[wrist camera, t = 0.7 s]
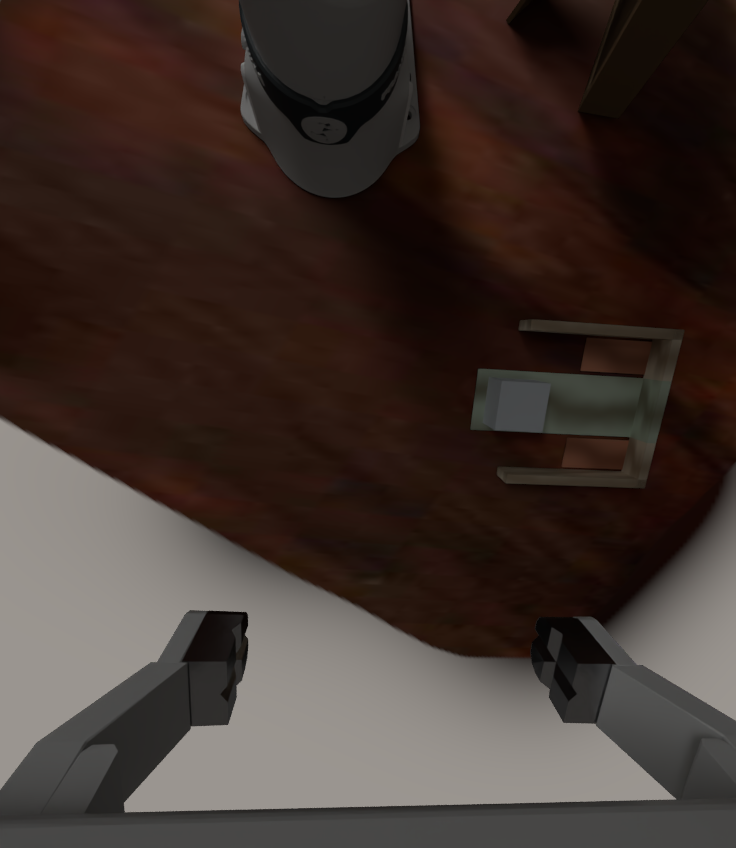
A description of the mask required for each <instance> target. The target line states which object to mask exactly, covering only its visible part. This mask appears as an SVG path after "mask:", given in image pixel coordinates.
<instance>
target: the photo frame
mask: <svg viewBox="0 0 736 848" xmlns="http://www.w3.org/2000/svg"><path fill="white" fill-rule="evenodd" d="M531 1H532V0H520V2H519V3H518V4H517V6H516V7H515V9H514V10H513V11H512V13H511V14H510V16H509V17H508V18H507V20H506V21H507V23H508V24H509V23H510V22H511V21H512V20H513V19H514V18H515V17H516V16H517V15H518V14H519V13H520V12H521V11H522V10H523V9H524V8H525V7H526V6H527V5H528V4H529V3H530V2H531ZM707 1H708V0H615V3H614V6H613V9H612V12H611V14H610V17H609V20H608V23H607V26H606V29H605V32H604V35H603V38H602V41H601V44H600V47H599V50H598V53H597V56H596V59H595V62H594V65H593V68H592V71H591V74H590V77H589V80H588V83H587V86H586V89H585V92H584V95H583V98H582V101H581V104H580V107H579V110H578V112H584V113H589V114H595V115H601V116H607V117H612V118H618V119H619V117H620V116H621V115H622V113H623V112H624V111H625V109H626V108H627V107H628V105H629V104H630V103H631V102H632V100H633V99H634V98H635V96H636V95H637V94H638V92H639V91H640V90H641V88H642V87H643V86H644V84H645V83H646V82H647V80H648V79H649V78H650V76H651V75H652V74H653V73H654V71H655V70H656V69H657V67H658V66H659V65H660V63H661V62H662V61H663V59H664V58H665V57H666V55H667V54H668V53H669V51H670V50H671V49H672V48H673V46H674V45H675V44H676V42H677V41H678V40H679V38H680V37H681V36H682V34H683V33H684V32H685V30H686V29H687V28H688V26H689V25H690V24H691V22H692V21H693V20H694V19H695V17H696V16H697V15H698V13H699V12H700V11H701V9H702V8H703V7H704V5H705V4H706V3H707Z"/></svg>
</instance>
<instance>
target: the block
mask: <svg viewBox="0 0 736 848" xmlns="http://www.w3.org/2000/svg"><path fill="white" fill-rule="evenodd" d="M550 387H551V383H546V382H542V381H537V380H529V379H511V378H494V377H489V380H488V387H487V394H486V402H485V409H484V416H483V423H484V424H485V425H487V426H489V427H490V428H492V429H493V430H498V431H519V432H541V433H542V432H543V426H544V421H545V415H546V409H547V404H548V398H549V393H550Z"/></svg>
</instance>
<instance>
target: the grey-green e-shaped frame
mask: <svg viewBox="0 0 736 848" xmlns="http://www.w3.org/2000/svg"><path fill="white" fill-rule="evenodd" d="M519 330H520V331H534V332H549V333H564V334H579V335H594V336H609V337H623V338H638V339H652V342H647V341H632V340H617V339H602V338H586V343H585V348H584V353H583V358H582V364H581V369H580V371H593V372H609V373H626V374H643V375H644V377H643V378H629V377H612V376H595V375H578V374H561V373H544V372H527V371H510V370H493V369H478V374H477V382H476V389H475V397H474V405H473V412H472V420H471V428H470V430H489V431H498V430H493V429H492V428H490V427H489V426H487V425H485V424H484V423H483V416H484V409H485V402H486V394H487V387H488V380H489V377H494V378H511V379H529V380H537V381H542V382H546V383H551V387H550V393H549V398H548V404H547V409H546V415H545V421H544V426H543V432H542V433H553V434H575V435H596V436H618V437H629V440H609V439H588V438H567V441H566V446H565V451H564V456H563V461H562V467H571V468H596V469H621V471H601V470H575V469H550V468H524V467H499V466H498V469H497V476H499V477H500V478H501V479H502V480H503V481H504V482H505V483H513V484H540V485H568V486H596V487H624V488H645V484H646V480H647V476H648V473H649V469H650V465H651V461H652V457H653V453H654V449H655V445H656V441H657V437H658V433H659V429H660V425H661V421H662V417H663V413H664V409H665V405H666V401H667V397H668V394H669V390H670V386H671V382H672V378H673V374H674V370H675V366H676V362H677V358H678V354H679V350H680V346H681V342H682V338H683V334H684V330H678V329H664V328H650V327H635V326H621V325H607V324H592V323H578V322H564V321H550V320H535V319H530V320H520V324H519ZM510 432H519V431H510ZM532 433H541V432H532Z"/></svg>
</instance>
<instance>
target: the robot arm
mask: <svg viewBox="0 0 736 848" xmlns="http://www.w3.org/2000/svg"><path fill="white" fill-rule="evenodd" d="M239 9H240V17H241V23H242V33H241V42H242V47H243V49H244V50H246V52H245V62H243V63H242V64H241V73H242V77H243V81H244V89H243V95H242V101H241V114H242V118H243V121H244V123H245V124H246V126H247V127H248V128H249V129H250V130H251V131H252V132H253V133H255V134H256V135H257V136H258V137H259V138H261V139H262V140H263V141H264V142H265V143H266V145H267V146H268V148H269V149H270V151H271V153H272V155H273V157H274V158H275V160H276V162H277V163H278V165H279V167H280V168H281V169H282V171H283V172H284V173H285V174H286V175H287V176H288V177H289V178H290V179H291V180H292V181H293V182H294V183H296V184H297V185H298V186H300V187H301V188H303V189H305V190H306V191H308V192H311V193H313V194H316V195H319V196H324V197H331V198H339V197H346V196H350V195H354V194H356V193H359V192H361V191H363V190H365V189H366V188H368V187H369V186H371V185H372V184H373V183H374V182H375V181H376V180H377V179H378V178H379V177H380V176H381V175H382V174H383V172H384V171H385V170H386V168H387V167H388V165H389V164H390V162H391V161H392V160H393V158H394V157H395V156H396V155H397V154H399V153H401V152H402V151H404V150H405V149H407V148H408V147H410V146H411V145H412V144H414V143H415V142H416V140H417V139H418V136H419V131H420V120H419V108H418V96H417V85H416V73H415V61H414V49H413V37H412V25H411V14H410V2H409V0H239ZM408 115H409V116H410V117H411V119H410V120H407V117H408ZM247 627H248V614H247V613H246V612H228V611H194V610H190V611H189V612H187V613H186V614H185V615H184V617H183V619H182V621H181V623H180V624H179V626H178V628H177V629H176V631H175V632H174V634H173V636H172V638H171V639H170V641H169V643H168V644H167V646H166V648H165V650H164V651H163V653H162V655H161V656H160V658H159V660H158V662H151V663H150V664H148V665H147V666H145V667H144V668H142V669H141V670H140V671H138V672H137V673H135V674H134V675H132V676H131V677H130V678H128V679H127V680H125V681H124V682H122V683H121V684H120V685H118V686H117V687H115V688H114V689H112V690H111V691H109V692H108V693H107V694H105V695H104V696H102V697H101V698H100V699H98V700H97V701H95V702H94V703H92V704H91V705H90V706H88V707H87V708H85V709H84V710H82V711H81V712H80V713H78V714H77V715H75V716H74V717H73V718H71V719H70V720H68V721H67V722H65V723H64V724H63V725H61V726H60V727H58V728H57V729H56V730H54V731H53V732H51V733H50V734H48V735H47V736H46V737H44V738H43V739H41V740H40V741H38V742H37V743H36V744H35V745H34V747H33V748H32V750H31V751H30V752H29V753H28V755H27V756H26V757H25V759H24V760H23V761H22V762H21V764H20V765H19V766H18V768H17V769H16V770H15V772H14V773H13V774H12V775H11V777H10V778H9V779H8V781H7V782H6V783H5V785H4V786H3V787H2V789H1V790H0V848H736V721H735V720H733V719H732V718H730V717H728V716H727V715H725V714H723V713H722V712H720V711H718V710H717V709H715V708H713V707H712V706H710V705H708V704H707V703H705V702H703V701H702V700H700V699H698V698H697V697H695V696H693V695H691V694H689V693H688V692H686V691H685V690H683V689H681V688H680V687H678V686H676V685H675V684H673V683H671V682H670V681H668V680H666V679H665V678H663V677H661V676H660V675H658V674H656V673H655V672H653V671H651V670H650V669H648V668H646V667H644V666H643V665H636V664H635V663H634V661H633V660H632V659H631V658H630V657H629V656H628V654H627V653H626V652H625V651H624V650H623V649H622V648H621V647H620V646H619V644H618V643H617V642H616V641H615V640H614V639H613V638H612V637H611V635H610V634H608V632H607V631H606V630H605V629H604V628H603V627H602V625H601V624H600V623H599V622H598V621H597V620H596V619H594V618H592V617H539V619H538V620H537V622H536V626H535V630H536V631H537V633H538V635H539V636H538V637H537V638H536V639H535V640H534V641H533V642H532V646H531V660H532V665H533V667H534V670H535V673H536V675H537V677H538V678H539V680H540V682H542V683H543V684H544V685H546V686H547V687H548V688H549V689H550V693H549V698H550V700H551V701H552V703H553V705H554V707H555V709H556V710H557V712H558V714H559V715H560V717H561V719H562V721H563V722H564V723H594V724H596V726H597V727H598V728H599V729H601V731H603V732H604V733H605V734H606V735H607V736H608V737H609V738H610V739H611V740H612V741H614V742H615V743H616V744H617V745H618V746H619V747H620V748H621V749H622V750H623V751H624V752H626V753H627V754H628V755H629V756H630V757H631V758H632V759H633V760H634V761H636V762H637V763H638V764H639V765H640V766H641V767H642V768H643V769H644V770H645V771H646V772H647V773H649V774H650V775H651V776H652V777H653V778H654V779H655V780H656V781H657V782H658V783H660V784H661V785H662V786H663V787H664V788H665V789H666V790H667V791H668V792H669V793H670V794H671V795H672V796H674V797H675V798H676V799H677V800H643V801H642V800H641V801H599V802H598V801H597V802H558V803H557V802H556V803H520V804H519V803H515V804H477V805H475V804H472V805H431V806H430V805H428V806H386V807H340V808H298V809H258V810H257V809H256V810H216V811H215V810H212V811H175V812H174V811H172V812H128V813H125V811H124V802H125V801H126V800H127V798H129V796H130V795H131V794H132V793H133V792H134V791H135V790H136V789H137V788H138V786H139V785H140V784H141V783H142V782H143V781H144V780H145V779H146V778H147V777H148V775H149V774H150V773H151V772H152V771H153V770H154V769H155V768H156V767H157V765H158V764H159V763H160V762H161V761H162V760H163V759H164V758H165V757H166V755H167V754H168V753H169V752H170V751H171V750H172V749H173V748H174V747H175V745H176V744H177V743H178V742H179V741H180V740H181V739H182V738H183V737H184V735H185V734H186V733H187V732H188V731H189V730H190V728H191V727H190V726H209V725H228V723H229V720H230V717H231V714H232V710H233V707H234V704H235V701H236V697H237V696H236V685H237V684H238V683H239V682H240V681H242V677H243V674H244V670H245V666H246V661H247V654H248V638H247V637H246V636H245V633H246V629H247Z"/></svg>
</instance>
